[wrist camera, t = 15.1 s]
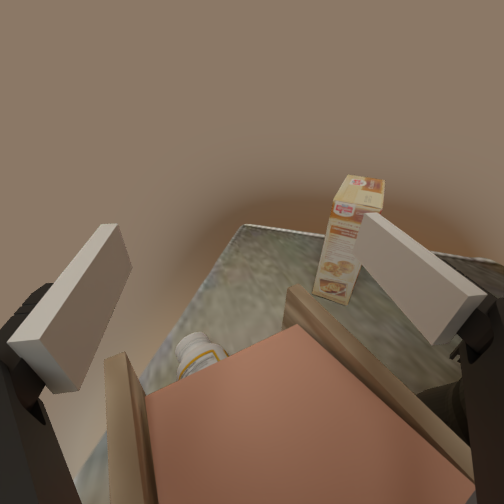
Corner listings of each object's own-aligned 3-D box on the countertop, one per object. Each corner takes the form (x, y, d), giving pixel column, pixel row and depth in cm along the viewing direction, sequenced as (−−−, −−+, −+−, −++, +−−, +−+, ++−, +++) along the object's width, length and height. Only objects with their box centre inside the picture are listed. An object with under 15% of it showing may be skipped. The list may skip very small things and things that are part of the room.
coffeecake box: (348, 307, 44) (383, 208, 33) (310, 294, 46) (331, 198, 35) (357, 263, 55) (386, 179, 44) (326, 255, 57) (346, 173, 46)
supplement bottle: (245, 450, 27) (200, 361, 36) (276, 407, 26) (221, 326, 35) (197, 474, 22) (158, 364, 31) (233, 423, 21) (182, 324, 30)
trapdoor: (297, 331, 25) (297, 323, 25) (483, 507, 13) (489, 498, 12) (147, 404, 19) (144, 396, 19) (216, 895, 6) (211, 903, 6)
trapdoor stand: (285, 360, 35) (298, 283, 26) (415, 546, 21) (534, 509, 12) (147, 435, 27) (103, 359, 18) (207, 813, 13) (141, 1217, 4)
